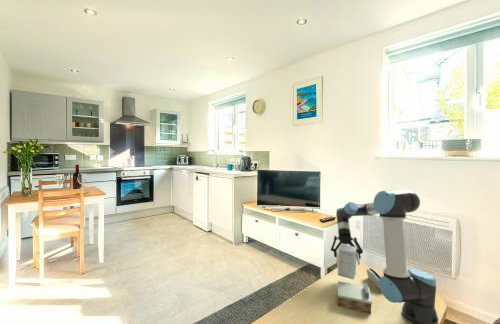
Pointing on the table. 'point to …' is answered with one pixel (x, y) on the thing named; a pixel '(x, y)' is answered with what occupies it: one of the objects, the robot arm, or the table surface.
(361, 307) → the brown wooden box
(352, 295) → the lid
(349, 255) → the supplement box
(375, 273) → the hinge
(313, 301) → the table surface
